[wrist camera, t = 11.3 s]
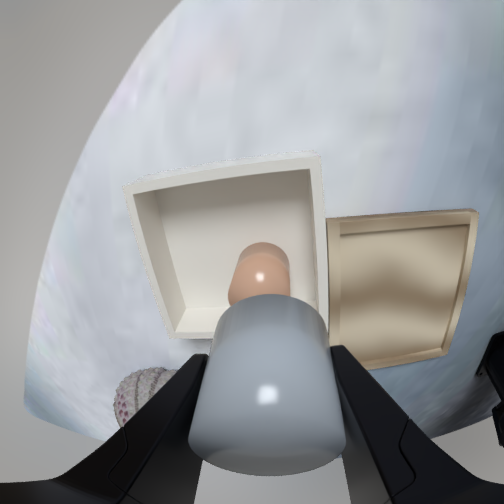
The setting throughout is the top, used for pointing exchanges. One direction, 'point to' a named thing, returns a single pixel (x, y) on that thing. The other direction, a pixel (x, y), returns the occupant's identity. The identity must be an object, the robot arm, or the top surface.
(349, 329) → the parts tray
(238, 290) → the peach rounded cylinder
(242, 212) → the square storage bin
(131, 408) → the sea urchin shell
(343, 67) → the top surface
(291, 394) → the slate pebble
